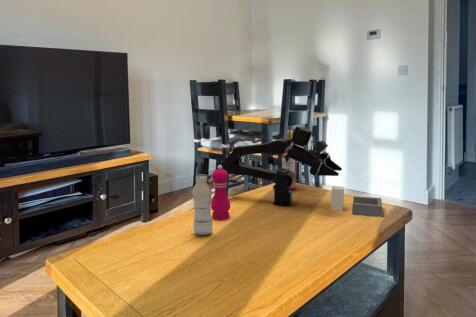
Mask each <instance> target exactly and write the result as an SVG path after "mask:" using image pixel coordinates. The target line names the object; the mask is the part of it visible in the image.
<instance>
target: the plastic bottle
mask: <svg viewBox="0 0 476 317" xmlns="http://www.w3.org/2000/svg"><path fill="white" fill-rule="evenodd" d="M195 182H196V183H195V185H194V186H193V188H192V191H191V192H192V199H193V206H194V217H193V218H194V219H193V226H192V227H193V232H194V233H195V235H198V236H208V235H210V234H211V233H212V232H213V227H214V226H213V220H212V212H211V202H212V188H211V185H209V184H208V174H204V173H201V174H196V175H195Z"/></svg>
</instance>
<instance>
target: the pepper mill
mask: <svg viewBox="0 0 476 317" xmlns="http://www.w3.org/2000/svg"><path fill="white" fill-rule="evenodd" d="M211 179H212V180H213V185H212V186H213V187H214V194H213V197H212V198H211V206H210V210H212V211H213V212H211V217H212V218H213V219H214V220H216V219H217V221H225V220H227V219H229V218H230V212H229V210H230V209H231V201H230V200H229V199H230V198H229V196H228V194H227V186H228V182H227V181H228V179H229V174H228V173H227V171H226V170H224V169H222V166H221V165H220V164H219V165H218V166H217V169H215V170H213V171H212V174H211Z"/></svg>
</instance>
